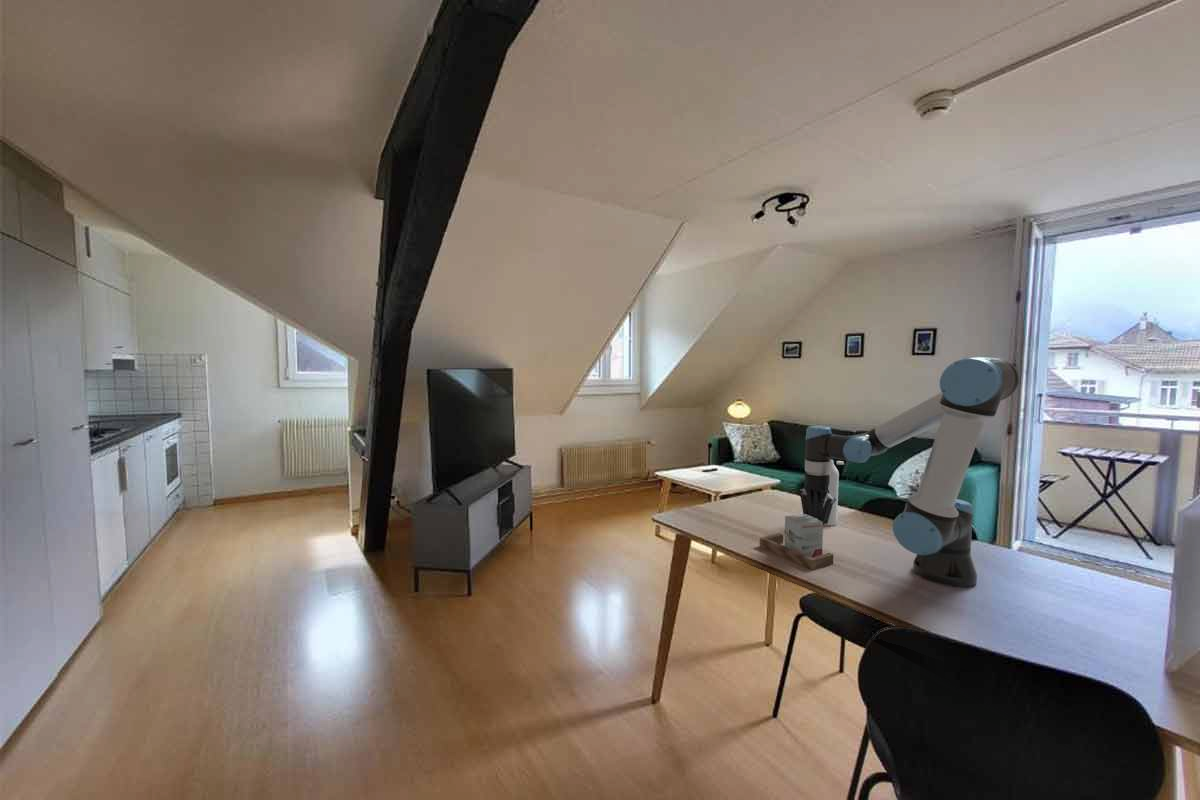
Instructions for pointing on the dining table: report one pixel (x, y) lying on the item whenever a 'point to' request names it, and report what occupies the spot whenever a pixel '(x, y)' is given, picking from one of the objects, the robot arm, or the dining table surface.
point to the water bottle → (833, 492)
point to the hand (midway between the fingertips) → (814, 542)
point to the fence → (794, 553)
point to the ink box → (804, 534)
